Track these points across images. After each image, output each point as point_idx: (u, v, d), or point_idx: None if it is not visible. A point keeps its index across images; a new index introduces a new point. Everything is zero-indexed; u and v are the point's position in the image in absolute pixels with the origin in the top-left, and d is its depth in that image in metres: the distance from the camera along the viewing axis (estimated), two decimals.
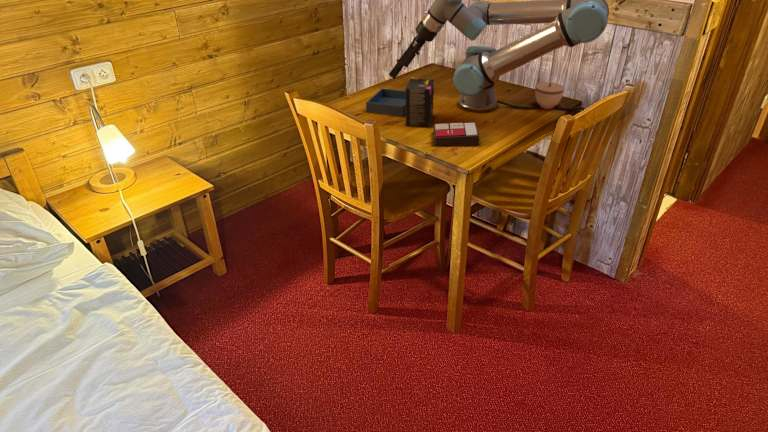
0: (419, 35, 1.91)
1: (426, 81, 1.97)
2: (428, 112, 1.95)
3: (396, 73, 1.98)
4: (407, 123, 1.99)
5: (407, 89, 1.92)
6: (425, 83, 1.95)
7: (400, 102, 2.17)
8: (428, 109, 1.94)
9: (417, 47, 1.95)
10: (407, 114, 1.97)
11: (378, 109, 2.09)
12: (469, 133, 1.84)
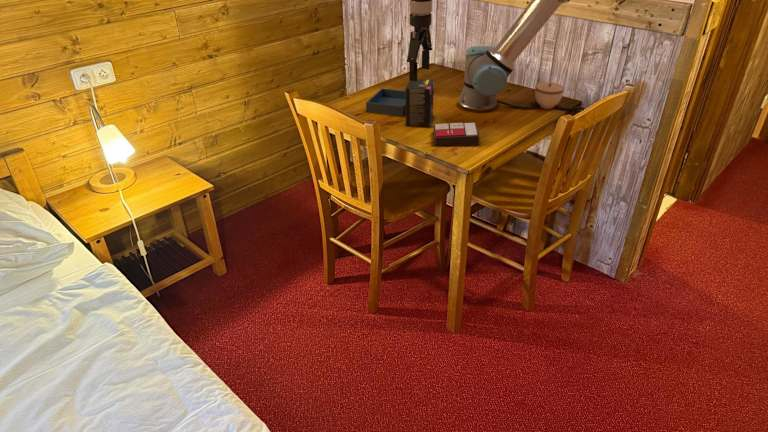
0: (414, 25, 1.81)
1: (426, 81, 1.97)
2: (428, 112, 1.95)
3: (415, 74, 1.86)
4: (407, 123, 1.99)
5: (407, 89, 1.92)
6: (425, 83, 1.95)
7: (400, 102, 2.17)
8: (428, 109, 1.94)
9: None
10: (407, 114, 1.97)
11: (378, 109, 2.09)
12: (469, 133, 1.84)
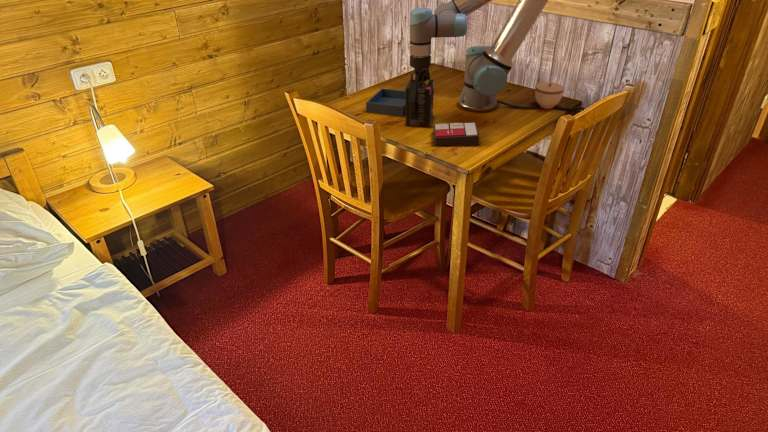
0: (414, 67, 1.89)
1: (426, 81, 1.97)
2: (428, 112, 1.95)
3: (416, 113, 1.95)
4: (407, 123, 1.99)
5: (407, 89, 1.92)
6: (425, 83, 1.95)
7: (400, 102, 2.17)
8: (428, 109, 1.94)
9: (420, 79, 1.92)
10: (407, 114, 1.97)
11: (378, 109, 2.09)
12: (469, 133, 1.84)
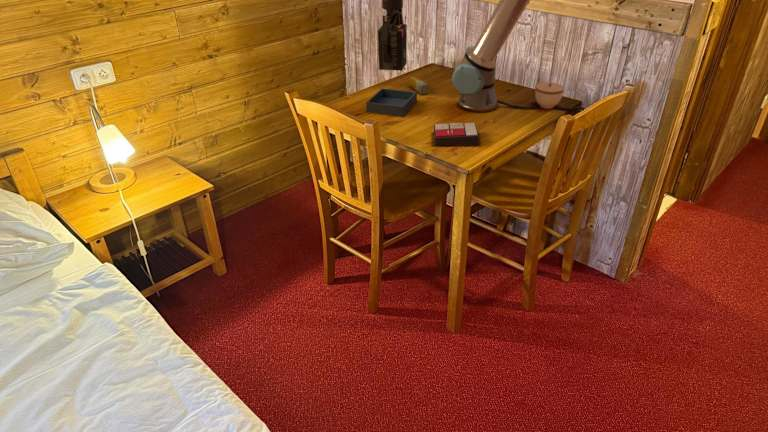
0: (386, 9, 1.91)
1: (399, 25, 1.99)
2: (400, 55, 1.97)
3: (388, 56, 1.97)
4: (380, 67, 2.01)
5: (379, 31, 1.94)
6: (398, 26, 1.98)
7: (400, 102, 2.17)
8: (400, 52, 1.97)
9: None
10: (380, 58, 1.99)
11: (378, 109, 2.09)
12: (469, 133, 1.84)
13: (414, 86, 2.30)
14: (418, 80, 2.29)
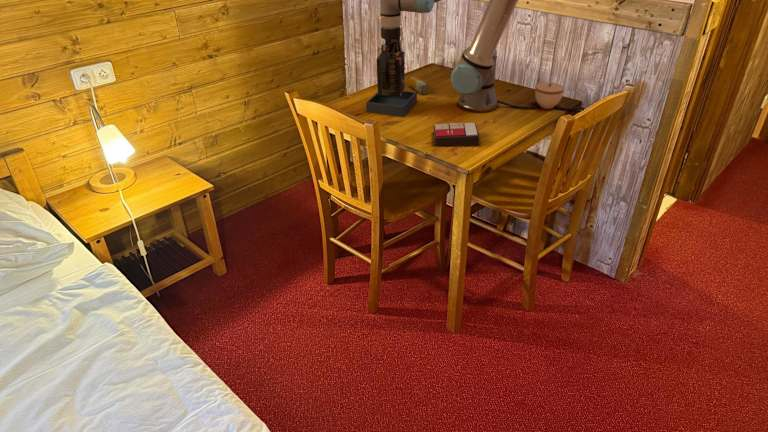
0: (385, 38, 1.98)
1: (397, 53, 2.06)
2: (398, 82, 2.04)
3: (387, 83, 2.04)
4: (379, 93, 2.08)
5: (378, 60, 2.01)
6: (396, 54, 2.04)
7: (400, 102, 2.17)
8: (398, 79, 2.03)
9: None
10: (379, 84, 2.06)
11: (378, 109, 2.09)
12: (469, 133, 1.84)
13: (414, 86, 2.30)
14: (418, 80, 2.29)
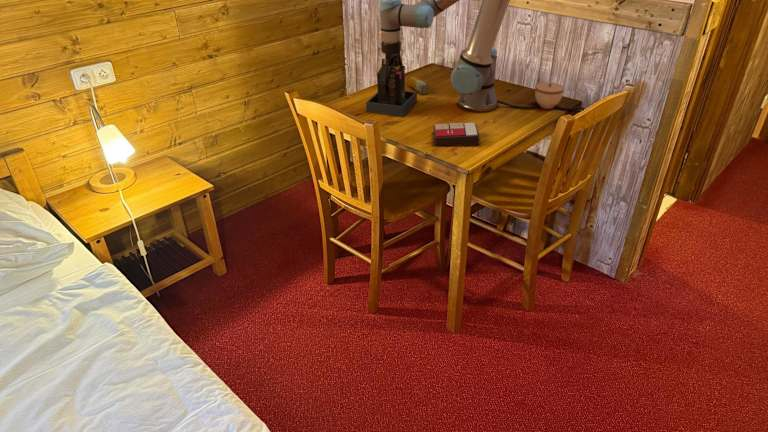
0: (385, 53, 2.01)
1: (397, 67, 2.09)
2: (399, 96, 2.07)
3: (387, 96, 2.06)
4: None
5: (378, 74, 2.04)
6: (396, 68, 2.07)
7: None
8: (399, 93, 2.06)
9: None
10: (379, 98, 2.09)
11: (378, 109, 2.09)
12: (469, 133, 1.84)
13: (414, 86, 2.30)
14: (418, 80, 2.29)
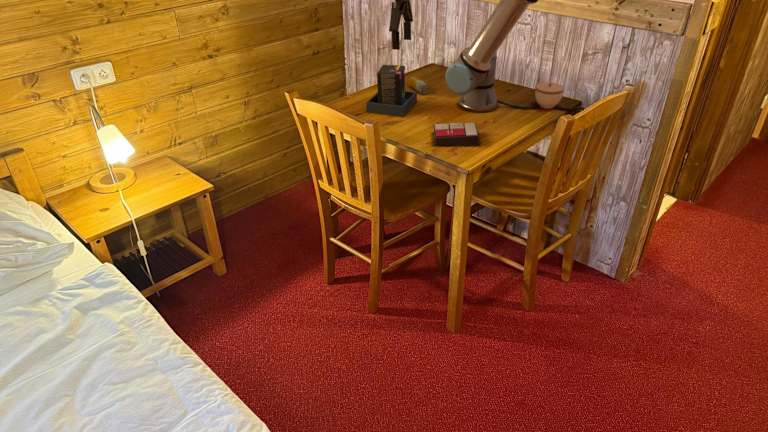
0: None
1: (397, 67, 2.09)
2: (399, 96, 2.07)
3: (397, 43, 1.97)
4: None
5: (378, 74, 2.04)
6: (396, 68, 2.07)
7: None
8: (398, 93, 2.06)
9: None
10: (379, 98, 2.09)
11: (378, 109, 2.09)
12: (469, 133, 1.84)
13: (414, 86, 2.30)
14: (418, 80, 2.29)
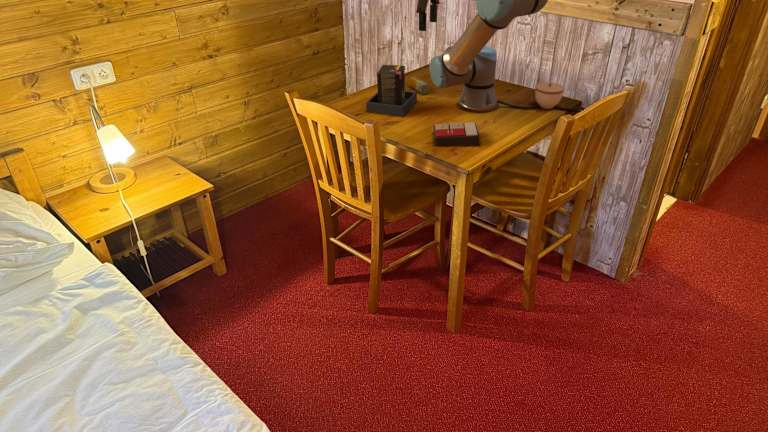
0: None
1: (397, 67, 2.09)
2: (399, 96, 2.07)
3: (424, 24, 2.00)
4: None
5: (378, 74, 2.04)
6: (396, 68, 2.07)
7: None
8: (398, 93, 2.06)
9: None
10: (379, 98, 2.09)
11: (378, 109, 2.09)
12: (469, 133, 1.84)
13: (414, 86, 2.30)
14: (418, 80, 2.29)
